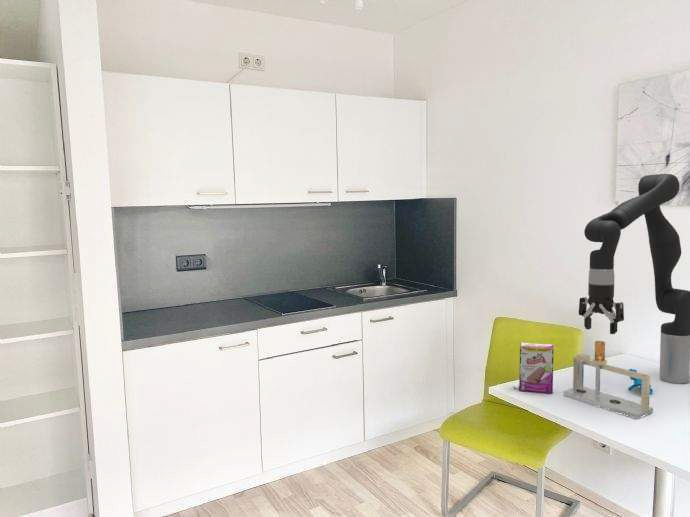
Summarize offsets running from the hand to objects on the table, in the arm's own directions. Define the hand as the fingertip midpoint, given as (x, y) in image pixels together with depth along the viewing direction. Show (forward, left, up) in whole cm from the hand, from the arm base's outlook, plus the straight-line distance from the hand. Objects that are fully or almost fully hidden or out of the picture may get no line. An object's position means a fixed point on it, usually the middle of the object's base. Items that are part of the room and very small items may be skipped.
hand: (600, 331), depth 171 cm
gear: (-18, +4, -24) cm, 30 cm away
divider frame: (+1, +3, -23) cm, 23 cm away
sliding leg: (0, 0, -21) cm, 21 cm away
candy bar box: (+9, -18, -24) cm, 31 cm away
